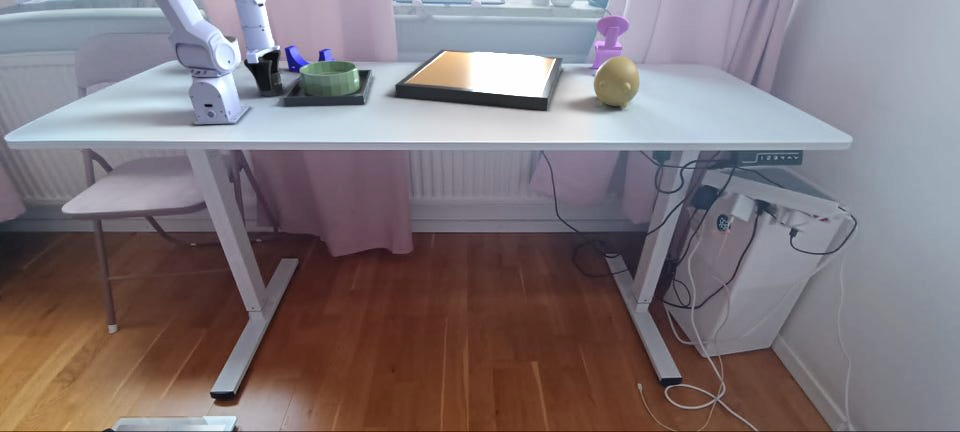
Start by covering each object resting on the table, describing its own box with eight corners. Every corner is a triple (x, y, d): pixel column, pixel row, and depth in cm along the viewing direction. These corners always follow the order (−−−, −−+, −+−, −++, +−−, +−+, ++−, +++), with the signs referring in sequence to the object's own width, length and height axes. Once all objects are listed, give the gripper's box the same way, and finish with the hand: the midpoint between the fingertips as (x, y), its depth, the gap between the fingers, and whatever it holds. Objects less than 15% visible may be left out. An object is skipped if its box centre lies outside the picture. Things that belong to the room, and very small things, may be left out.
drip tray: (364, 104, 103) (363, 95, 102) (285, 106, 102) (283, 97, 100) (372, 77, 121) (371, 69, 120) (305, 78, 119) (303, 70, 118)
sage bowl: (357, 98, 106) (354, 75, 103) (298, 100, 105) (293, 76, 102) (363, 81, 117) (360, 59, 114) (310, 83, 116) (305, 60, 113)
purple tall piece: (617, 68, 131) (627, 11, 123) (622, 77, 123) (632, 17, 115) (587, 67, 131) (595, 10, 123) (590, 75, 124) (599, 16, 116)
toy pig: (631, 121, 106) (641, 81, 108) (636, 94, 95) (648, 50, 97) (588, 114, 109) (600, 75, 111) (588, 86, 97) (601, 43, 100)
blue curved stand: (337, 70, 126) (333, 47, 123) (327, 75, 122) (323, 51, 119) (299, 66, 129) (294, 44, 125) (289, 70, 125) (284, 48, 122)
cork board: (442, 59, 137) (396, 96, 108) (441, 49, 135) (395, 84, 106) (561, 68, 130) (546, 110, 101) (562, 58, 128) (547, 98, 99)
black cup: (281, 96, 107) (276, 75, 104) (256, 97, 106) (250, 75, 104) (286, 89, 112) (282, 68, 109) (262, 90, 111) (257, 69, 108)
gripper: (264, 31, 95) (279, 96, 102) (282, 19, 107) (294, 77, 115) (229, 32, 94) (246, 96, 102) (251, 19, 107) (265, 78, 114)
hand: (270, 86), depth 108 cm, fingers closed on black cup, 5 cm apart
